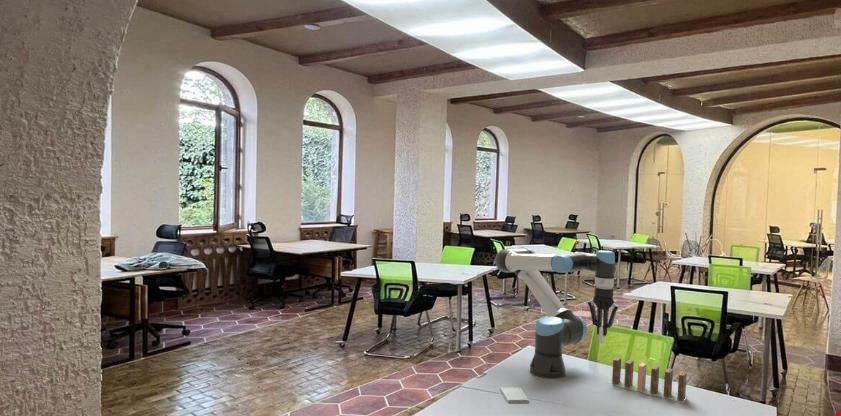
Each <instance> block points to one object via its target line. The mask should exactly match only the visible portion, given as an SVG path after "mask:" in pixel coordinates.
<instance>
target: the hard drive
mask: <svg viewBox="0 0 841 416" xmlns="http://www.w3.org/2000/svg"><path fill="white" fill-rule="evenodd" d="M499 391H500V392H501V394H502V396H503V397H504V399H505V401H506V402H507V404H521V403H522V404H529V403H530V399H529V398H528V397H527V395H526V394H525V393H524V391H523V390H522V388H521V387H510V386H509V387H505V386H504V387H499Z"/></svg>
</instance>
